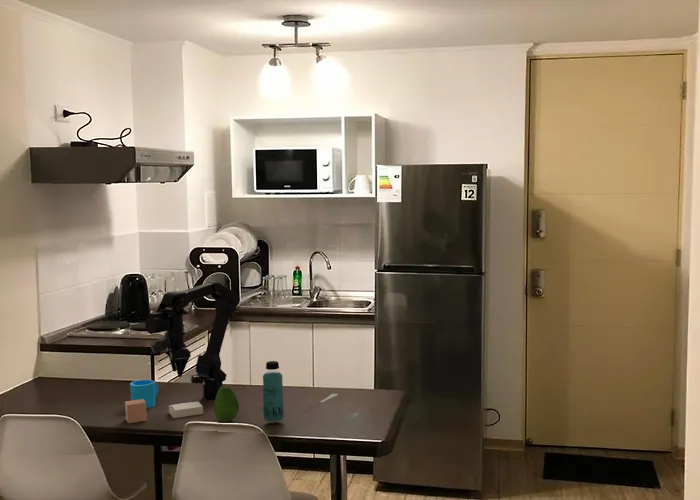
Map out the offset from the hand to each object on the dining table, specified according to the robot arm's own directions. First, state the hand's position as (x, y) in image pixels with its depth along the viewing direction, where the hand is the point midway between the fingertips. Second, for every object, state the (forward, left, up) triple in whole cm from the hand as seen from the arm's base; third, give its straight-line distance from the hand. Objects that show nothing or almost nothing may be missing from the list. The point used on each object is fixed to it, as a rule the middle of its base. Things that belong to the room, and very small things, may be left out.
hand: (177, 374), depth 274 cm
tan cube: (+15, +7, -12) cm, 21 cm away
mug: (+9, -11, -12) cm, 19 cm away
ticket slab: (-1, +7, -12) cm, 14 cm away
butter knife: (-46, +17, -13) cm, 50 cm away
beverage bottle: (-24, +32, -12) cm, 42 cm away
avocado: (-11, +23, -12) cm, 28 cm away
